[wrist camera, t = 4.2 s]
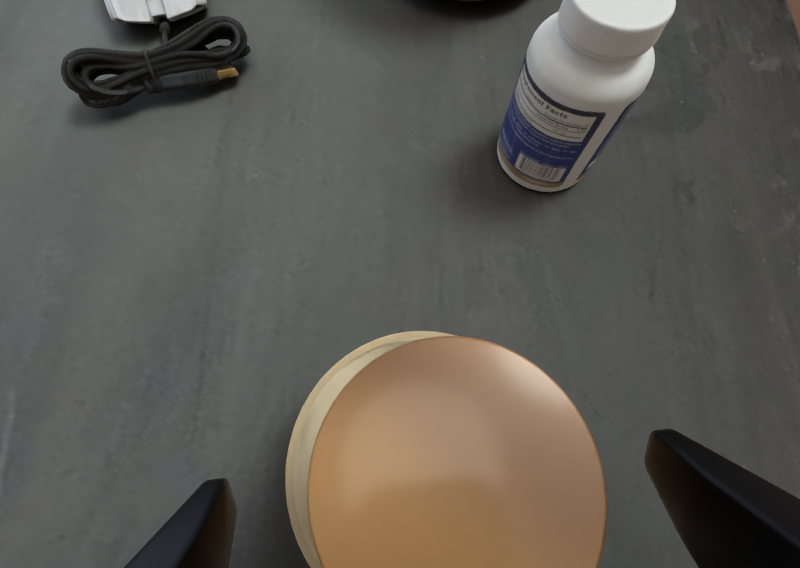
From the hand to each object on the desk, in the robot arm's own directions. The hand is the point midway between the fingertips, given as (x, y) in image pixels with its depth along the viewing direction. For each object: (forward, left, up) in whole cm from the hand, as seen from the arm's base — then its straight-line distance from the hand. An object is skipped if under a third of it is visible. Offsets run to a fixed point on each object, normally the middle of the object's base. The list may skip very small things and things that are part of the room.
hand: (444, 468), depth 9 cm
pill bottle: (+18, +2, -11) cm, 21 cm away
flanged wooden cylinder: (0, 0, -6) cm, 6 cm away
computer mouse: (+16, +29, -11) cm, 35 cm away
